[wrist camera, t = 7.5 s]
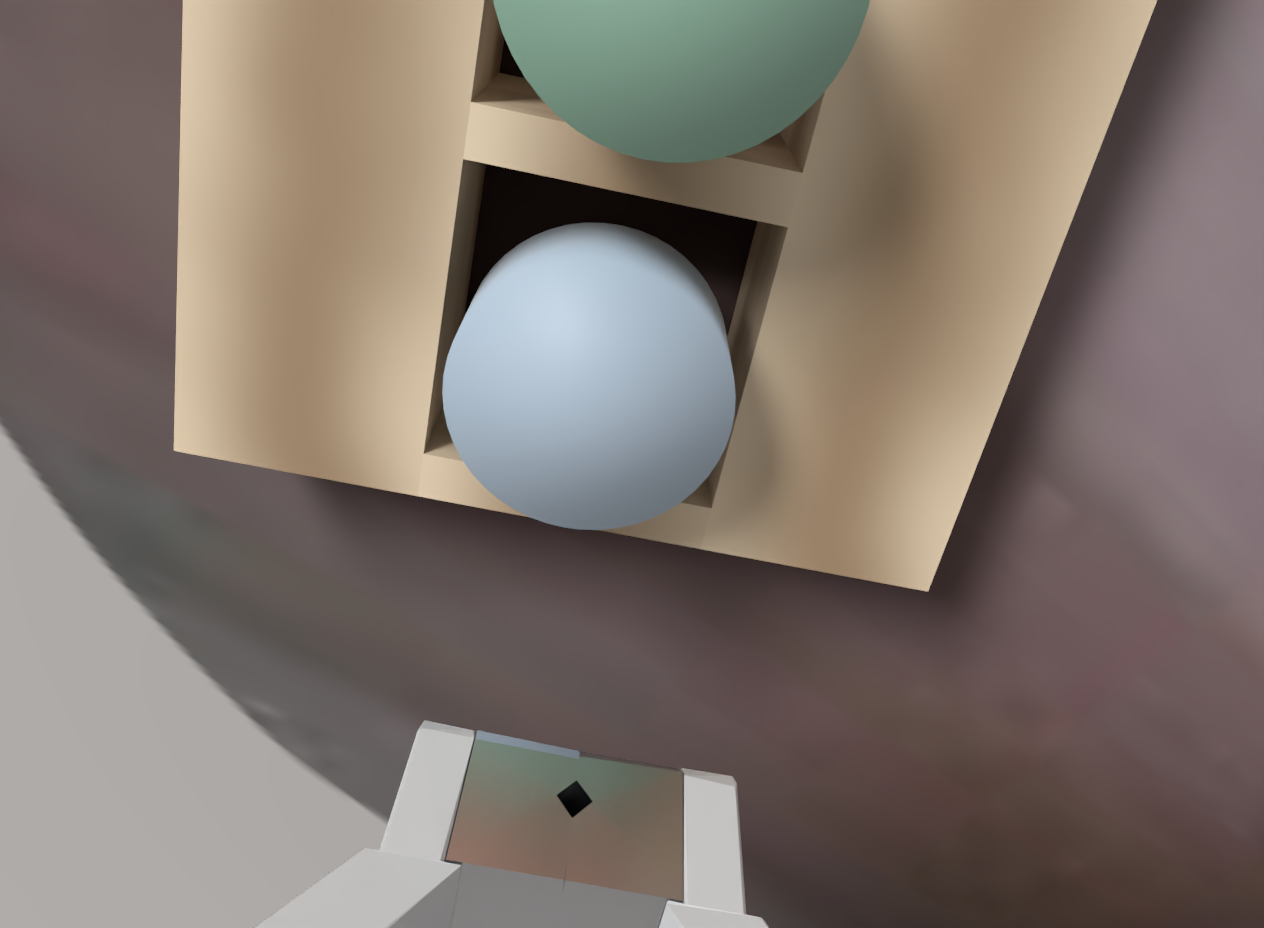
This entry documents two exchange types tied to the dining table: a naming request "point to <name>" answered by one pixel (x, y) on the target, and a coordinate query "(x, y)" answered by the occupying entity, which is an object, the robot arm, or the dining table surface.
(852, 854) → the dining table surface
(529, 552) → the dining table surface
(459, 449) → the button slate
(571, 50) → the button green
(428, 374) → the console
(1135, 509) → the dining table surface
